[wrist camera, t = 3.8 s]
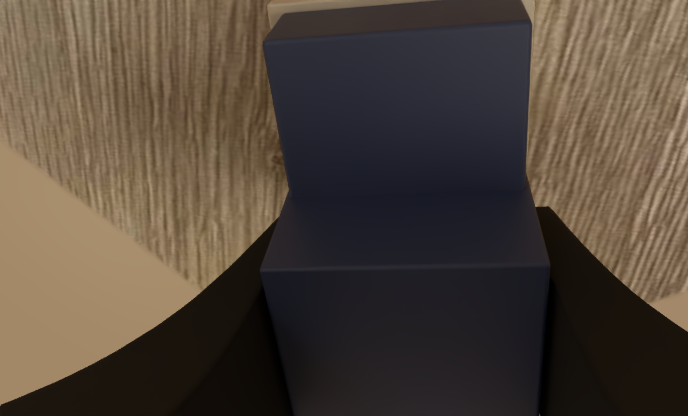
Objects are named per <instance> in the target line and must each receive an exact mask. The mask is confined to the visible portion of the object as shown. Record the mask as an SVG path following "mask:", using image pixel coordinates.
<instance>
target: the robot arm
mask: <svg viewBox="0 0 688 416" xmlns="http://www.w3.org/2000/svg"><path fill="white" fill-rule="evenodd" d="M535 208H536V212H537V216H538V219H539V223H540V227H541V231H542V235H543V238H544V242H545V246H546V250H547V254H548V257H549V261H550V265H551V266H550V279H549V293H548V306H547V319H546V332H545V346H544V359H543V372H542V385H541V399H540V412H539V413H540V416H688V332H687V331H685V330H684V329H683V328H681V327H680V326H678V325H677V324H675V323H674V322H672V321H671V320H669V319H668V318H667V317H665V316H664V315H663V314H661V313H660V312H658V311H657V310H656V309H654V308H653V307H651V306H650V305H649V304H647V303H646V302H645V301H644V300H642V299H641V298H640V297H638V296H637V295H636V294H635V293H634V292H632V291H631V290H630V289H629V288H628V287H627V286H625V285H624V284H623V283H622V282H621V281H620V280H619V279H618V278H616V277H615V276H614V275H613V274H612V273H611V272H610V271H609V270H608V269H607V268H606V267H605V266H604V265H603V264H602V263H601V262H600V261H599V260H598V259H597V258H596V257H595V256H594V255H593V254H592V253H591V252H590V251H589V250H588V249H587V248H586V247H585V246H584V245H583V244H582V243H581V242H580V241H579V240H578V238H577V237H576V236H575V235H574V234H573V233H572V232H571V231H570V230H569V228H568V227H567V226H566V225H565V224H564V223H563V222H562V220H561V219H560V218H559V217H558V216H557V215H556V213H555V212H554V211H553V210H552V209H551V208H550V207H549V206H547V207H535ZM278 219H279V217H278V218H277V219H276V220H275V221H274V222H273V223H272V224H271V225H270V226H269V227H268V228H267V230H266V231H265V232H264V233H263V234H262V235H261V236H260V237H259V238H258V239H257V240H256V241H255V242H254V243H253V244H252V245H251V246H250V247H249V248H248V249H247V250H246V251H245V252H244V253H243V254H242V255H241V256H240V257H239V258H238V259H237V260H236V261H235V262H234V263H233V264H232V265H231V266H230V267H229V268H228V269H227V270H226V271H225V272H223V273H222V274H221V275H220V276H219V277H218V278H217V279H216V280H214V281H213V282H212V283H211V284H210V285H209V286H208V287H207V288H205V289H204V290H203V291H202V292H201V293H200V294H199V295H197V296H196V297H195V298H194V299H193V300H191V301H190V302H189V303H188V304H186V305H185V306H184V307H182V308H181V309H180V310H178V311H177V312H176V313H174V314H173V315H171V316H170V317H169V318H167V319H166V320H165V321H163V322H162V323H160V324H159V325H157V326H156V327H154V328H153V329H151V330H150V331H148V332H146V333H145V334H143V335H142V336H140V337H138V338H137V339H135V340H134V341H132V342H130V343H129V344H127V345H126V346H124V347H123V348H121V349H119V350H118V351H116V352H114V353H112V354H110V355H108V356H107V357H105V358H103V359H101V360H99V361H97V362H96V363H94V364H92V365H90V366H88V367H86V368H84V369H82V370H80V371H78V372H76V373H74V374H72V375H70V376H68V377H65V378H63V379H61V380H59V381H57V382H55V383H52V384H50V385H47V386H45V387H43V388H40V389H38V390H36V391H34V392H31V393H29V394H26V395H24V396H22V397H19V398H17V399H14V400H12V401H10V402H7V403H4V404H2V405H1V406H0V416H293V414H292V409H291V405H290V401H289V396H288V392H287V387H286V383H285V379H284V374H283V370H282V366H281V361H280V357H279V352H278V348H277V344H276V339H275V335H274V331H273V326H272V322H271V317H270V313H269V309H268V304H267V300H266V296H265V291H264V287H263V282H262V278H261V274H260V268H261V265H262V263H263V260H264V257H265V254H266V252H267V249H268V246H269V243H270V241H271V238H272V235H273V232H274V230H275V227H276V224H277V221H278Z"/></svg>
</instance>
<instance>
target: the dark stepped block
mask: <svg viewBox="0 0 688 416" xmlns="http://www.w3.org/2000/svg"><path fill="white" fill-rule="evenodd" d="M534 10H535V0H271V1H270V2H269V3H268V5H267V11H268V17H269V23H270V28H271V31H270V32H269V34H268V35H267V37H266V38H265V40H264V41H263V51H264V56H265V61H266V67H267V72H268V78H269V83H270V89H271V94H272V100H273V105H274V111H275V116H276V122H277V127H278V133H279V138H280V144H281V149H282V155H283V160H284V166H285V171H286V176H287V182H288V187H289V191H288V194H287V197H286V200H285V202H284V205H283V208H282V210H281V213H280V216H279V219H278V221H277V224H276V227H275V230H274V232H273V235H272V238H271V241H270V243H269V246H268V249H267V252H266V254H265V257H264V260H263V263H262V265H261V268H260V274H261V278H262V282H263V287H264V291H265V296H266V300H267V304H268V309H269V313H270V317H271V322H272V326H273V331H274V335H275V339H276V344H277V348H278V352H279V357H280V361H281V366H282V370H283V374H284V379H285V383H286V387H287V392H288V396H289V401H290V405H291V409H292V414H293V416H539V412H540V399H541V385H542V372H543V359H544V346H545V332H546V319H547V306H548V293H549V279H550V266H551V265H550V261H549V257H548V254H547V250H546V246H545V242H544V238H543V235H542V231H541V227H540V223H539V219H538V216H537V212H536V208H535V204H534V200H533V197H532V193H531V189H530V185H529V181H528V178H527V161H528V139H529V118H530V96H531V75H532V53H533V32H534Z"/></svg>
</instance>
